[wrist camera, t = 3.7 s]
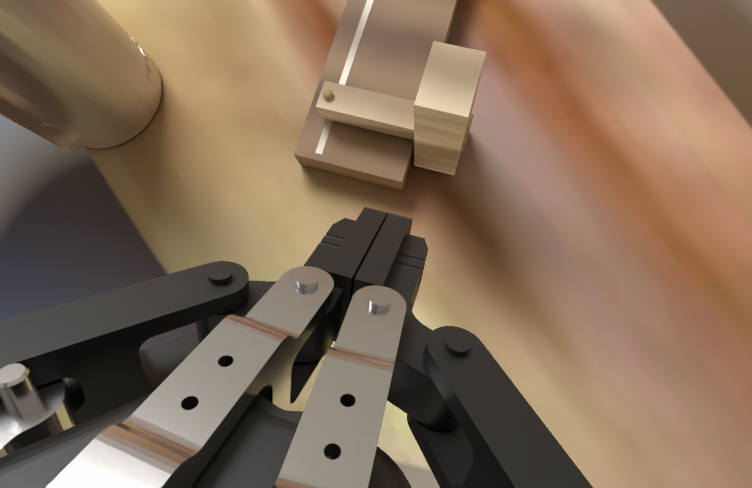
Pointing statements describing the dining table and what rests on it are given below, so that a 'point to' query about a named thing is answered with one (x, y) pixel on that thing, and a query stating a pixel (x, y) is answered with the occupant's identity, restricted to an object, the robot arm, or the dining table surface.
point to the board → (374, 85)
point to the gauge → (418, 107)
